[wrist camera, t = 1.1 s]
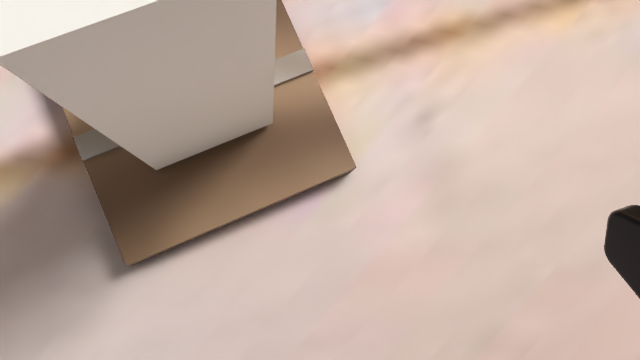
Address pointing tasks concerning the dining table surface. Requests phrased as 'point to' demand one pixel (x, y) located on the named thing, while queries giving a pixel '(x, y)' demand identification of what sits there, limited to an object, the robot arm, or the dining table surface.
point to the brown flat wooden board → (220, 165)
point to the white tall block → (149, 67)
